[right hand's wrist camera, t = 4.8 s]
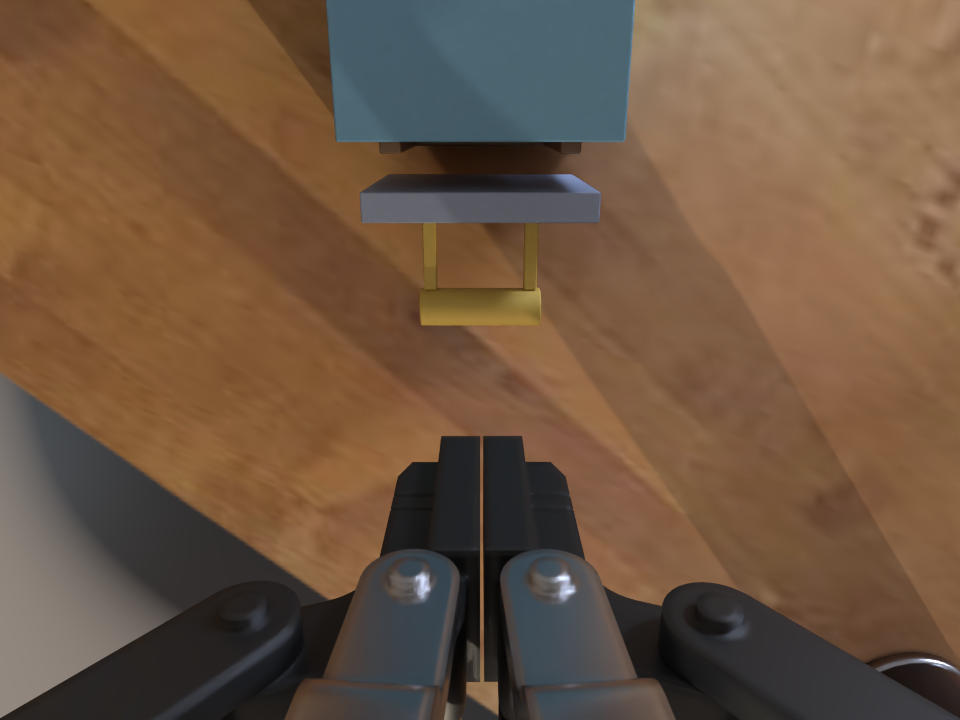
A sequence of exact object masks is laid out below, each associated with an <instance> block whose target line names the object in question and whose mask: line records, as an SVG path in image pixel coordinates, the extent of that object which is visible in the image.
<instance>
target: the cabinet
mask: <svg viewBox="0 0 960 720" xmlns="http://www.w3.org/2000/svg"><path fill="white" fill-rule="evenodd" d="M634 8H635V0H326V10H327V24H328V38H329V52H330V66H331V80H332V94H333V109H334V123H335V137H336V141H337V142H624V141H625V134H626V120H627V106H628V92H629V78H630V64H631V50H632V36H633V22H634Z"/></svg>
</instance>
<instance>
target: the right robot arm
mask: <svg viewBox="0 0 960 720" xmlns="http://www.w3.org/2000/svg"><path fill="white" fill-rule="evenodd" d="M483 571H484V682H498V696H499V718H498V720H960V671H959V670H958V668H957V667H955V666H954V665H953V664H952V663H950V662H949V661H947V660H945V659H943V658H941V657H938V656H935V655H931V654H926V653H901V654H896V655H891V656H887V657H884V658H881V659H878V660H876V661H874V662H872V663H870V664H868V665H867V664H865V663H864V662H862V661H860V660H859V659H857V658H855V657H853V656H852V655H850V654H848V653H847V652H845V651H843V650H841V649H840V648H838V647H836V646H834V645H833V644H831V643H829V642H828V641H826V640H824V639H822V638H821V637H819V636H817V635H816V634H814V633H812V632H810V631H809V630H807V629H805V628H804V627H802V626H800V625H798V624H797V623H795V622H793V621H791V620H790V619H788V618H786V617H785V616H783V615H781V614H779V613H778V612H776V611H774V610H773V609H771V608H769V607H767V606H766V605H764V604H762V603H760V602H759V601H757V600H755V599H754V598H752V597H750V596H748V595H747V594H745V593H743V592H741V591H738V590H736V589H733V588H731V587H728V586H724V585H720V584H715V583H705V582H698V583H689V584H684V585H681V586H679V587H677V588H675V589H673V590H672V591H671V592H669V593H668V594H667V596H666V597H665V599H664V601H663V604H662V606H658V605H654V604H650V603H645V602H641V601H637V600H633V599H630V598H626V597H624V596H621V595H619V594H617V593H615V592H613V591H611V590H609V589H607V588H606V587H604V586H603V585H602V582H601V579H600V577H599V575H598V573H597V571H596V570H595V569H594V567H593V566H592V565H591V564H589V563H588V562H587V561H585V557H584V553H583V549H582V544H581V540H580V536H579V532H578V528H577V523H576V519H575V515H574V511H573V506H572V502H571V498H570V497H569V490H568V485H567V481H566V477H565V476H564V475H563V474H562V473H561V472H560V471H559V470H558V469H557V468H556V467H555V466H554V465H553V464H552V463H551V462H525V456H524V448H523V441H522V436H483ZM466 682H480V436H442V437H441V444H440V452H439V461H438V462H412V463H411V464H410V465H409V466H408V467H407V468H406V469H405V470H404V471H403V472H402V473H401V474H400V475H399V476H398V479H397V484H396V488H395V493H394V497H393V501H392V506H391V511H390V515H389V519H388V523H387V528H386V532H385V536H384V541H383V545H382V550H381V554H380V557H379V558H378V559H376V560H375V561H373V562H372V563H371V564H369V565H368V566H367V567H366V569H365V570H364V571H363V573H362V575H361V577H360V579H359V582H358V585H357V587H356V590H354V591H352V592H351V593H349V594H347V595H344V596H342V597H339V598H336V599H332V600H329V601H325V602H320V603H316V604H312V605H308V606H303V607H300V601H299V599H298V596H297V595H296V594H295V592H294V591H292V590H291V589H290V588H288V587H287V586H285V585H282V584H279V583H276V582H270V581H252V582H245V583H240V584H237V585H234V586H230V587H228V588H225V589H223V590H221V591H219V592H217V593H215V594H213V595H212V596H210V597H208V598H206V599H205V600H203V601H201V602H200V603H198V604H196V605H194V606H193V607H191V608H189V609H188V610H186V611H184V612H182V613H181V614H179V615H177V616H175V617H174V618H172V619H170V620H169V621H167V622H165V623H163V624H162V625H160V626H158V627H157V628H155V629H153V630H151V631H150V632H148V633H146V634H144V635H143V636H141V637H139V638H138V639H136V640H134V641H132V642H131V643H129V644H127V645H126V646H124V647H122V648H120V649H119V650H117V651H115V652H114V653H112V654H110V655H108V656H107V657H105V658H103V659H101V660H100V661H98V662H96V663H95V664H93V665H91V666H89V667H88V668H86V669H84V670H83V671H81V672H79V673H77V674H76V675H74V676H72V677H70V678H69V679H67V680H65V681H64V682H62V683H60V684H58V685H57V686H55V687H53V688H52V689H50V690H48V691H46V692H45V693H43V694H41V695H39V696H38V697H36V698H34V699H33V700H31V701H29V702H28V703H26V704H24V705H22V706H21V707H19V708H17V709H16V710H14V711H12V712H10V713H9V714H7V715H5V716H3V717H2V718H0V720H462V718H461V717H462V715H463V712H464V709H465V704H466Z"/></svg>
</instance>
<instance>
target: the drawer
mask: <svg viewBox="0 0 960 720" xmlns="http://www.w3.org/2000/svg"><path fill="white" fill-rule="evenodd" d="M379 145H380V153H381V154H399V153H402V152H404V151H406V150H408V149H410V148H412V147H415V146H547V147H549V148H551V149H553V150H556V151H558V152H560V153H562V154H579V153H580V152H581V142H379ZM600 202H601V193H600V192H599V191H597V190H596V189H594V188H593V187H591V186H589V185H588V184H586V183H585V182H583V181H581V180H580V179H578V178H577V177H575V176H574V175H572V174H389V175H387V176H386V177H384V178H382V179H381V180H379V181H378V182H376V183H375V184H373V185H371V186H370V187H368V188H367V189H365V190H363V191H362V192H360V205H361V221H362V223H422V230H423V264H424V288H422V289H421V290H420V302H419V309H420V322H421V325H539V324H540V321H541V292H540V289H539V288H537V255H538V223H599V218H600ZM436 223H525V229H524V273H523V287H524V288H437V241H436Z"/></svg>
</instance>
